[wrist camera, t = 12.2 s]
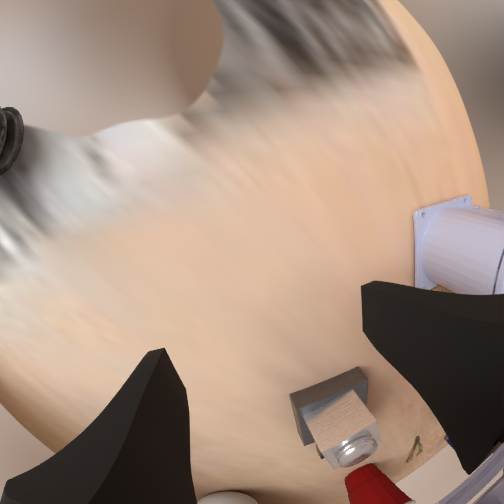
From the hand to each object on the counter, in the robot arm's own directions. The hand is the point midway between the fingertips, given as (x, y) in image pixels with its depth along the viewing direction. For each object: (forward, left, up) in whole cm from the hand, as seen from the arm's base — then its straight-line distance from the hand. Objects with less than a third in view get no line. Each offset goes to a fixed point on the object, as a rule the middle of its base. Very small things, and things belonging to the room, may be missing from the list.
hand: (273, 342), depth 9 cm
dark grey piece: (-5, +20, -9) cm, 23 cm away
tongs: (-23, +48, -10) cm, 54 cm away
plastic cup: (-10, +43, -10) cm, 45 cm away
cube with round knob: (-5, +17, -7) cm, 19 cm away
